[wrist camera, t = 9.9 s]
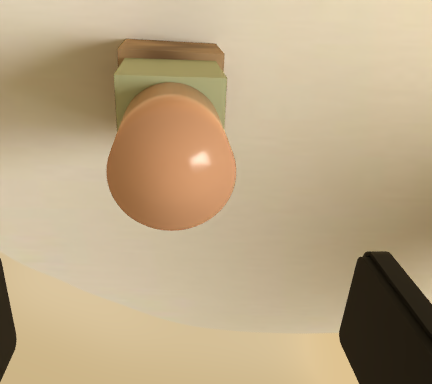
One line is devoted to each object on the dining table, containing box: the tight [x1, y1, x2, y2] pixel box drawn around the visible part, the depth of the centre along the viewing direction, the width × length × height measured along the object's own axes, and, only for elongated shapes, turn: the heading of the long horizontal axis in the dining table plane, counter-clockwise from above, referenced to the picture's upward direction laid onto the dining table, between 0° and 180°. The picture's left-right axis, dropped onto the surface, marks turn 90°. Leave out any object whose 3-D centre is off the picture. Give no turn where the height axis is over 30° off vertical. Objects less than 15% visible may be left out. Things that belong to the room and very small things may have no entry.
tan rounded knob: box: [107, 82, 236, 231], centre depth 21 cm, size 6×6×6 cm
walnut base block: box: [118, 39, 224, 71], centre depth 31 cm, size 7×7×6 cm
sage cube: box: [114, 58, 227, 132], centre depth 26 cm, size 6×6×6 cm
